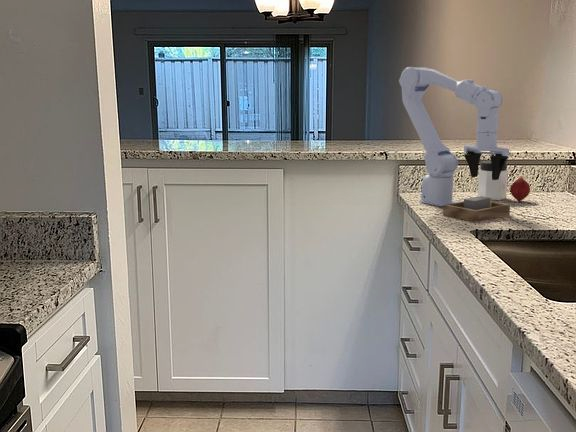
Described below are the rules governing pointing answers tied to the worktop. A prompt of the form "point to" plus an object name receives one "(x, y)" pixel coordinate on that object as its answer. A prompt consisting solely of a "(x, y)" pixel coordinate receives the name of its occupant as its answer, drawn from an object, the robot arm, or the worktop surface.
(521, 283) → the worktop surface
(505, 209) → the wooden tray
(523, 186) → the onion
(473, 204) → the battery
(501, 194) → the jar
